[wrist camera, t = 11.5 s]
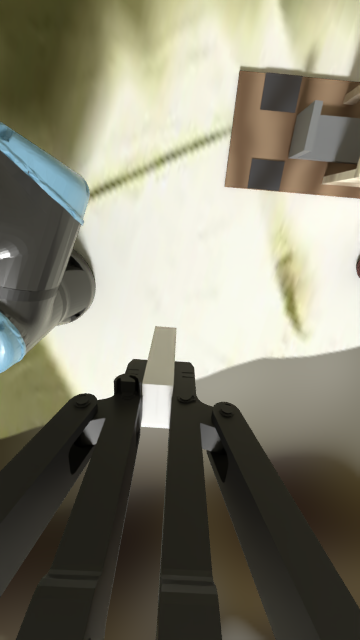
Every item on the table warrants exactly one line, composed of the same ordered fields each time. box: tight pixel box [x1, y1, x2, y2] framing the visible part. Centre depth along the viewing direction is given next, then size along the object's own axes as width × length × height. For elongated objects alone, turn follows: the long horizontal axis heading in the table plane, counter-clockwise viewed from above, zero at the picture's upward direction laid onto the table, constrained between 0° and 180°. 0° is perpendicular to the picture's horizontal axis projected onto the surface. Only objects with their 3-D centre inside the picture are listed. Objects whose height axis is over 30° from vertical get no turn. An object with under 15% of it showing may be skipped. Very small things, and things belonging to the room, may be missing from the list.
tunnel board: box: [225, 71, 360, 199], centre depth 34 cm, size 30×14×10 cm, turn 86°
